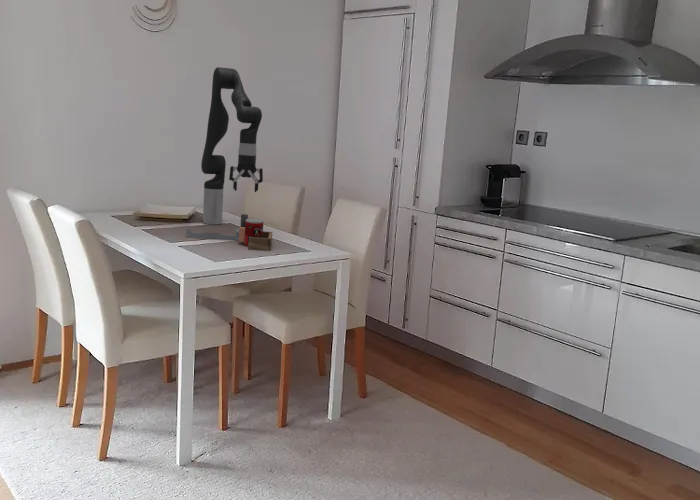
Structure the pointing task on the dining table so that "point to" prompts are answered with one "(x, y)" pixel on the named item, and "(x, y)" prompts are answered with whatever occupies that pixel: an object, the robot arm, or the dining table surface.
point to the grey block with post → (241, 229)
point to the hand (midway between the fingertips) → (245, 191)
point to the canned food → (253, 229)
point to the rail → (210, 235)
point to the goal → (261, 242)
